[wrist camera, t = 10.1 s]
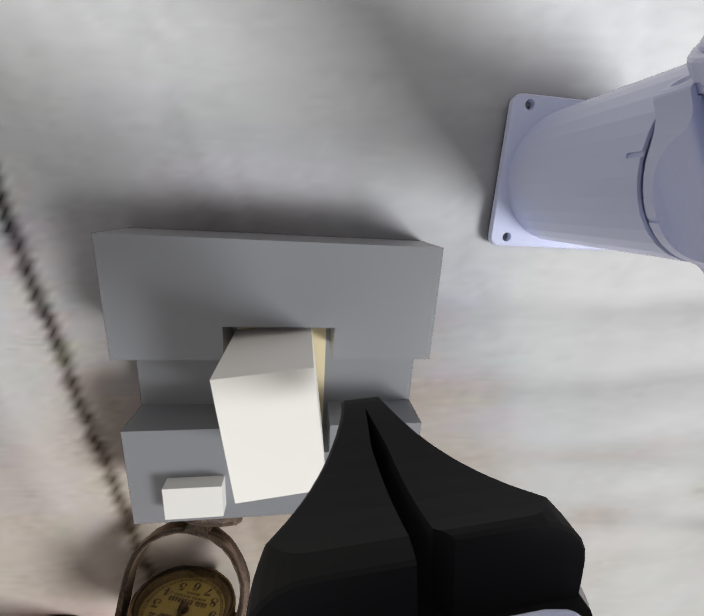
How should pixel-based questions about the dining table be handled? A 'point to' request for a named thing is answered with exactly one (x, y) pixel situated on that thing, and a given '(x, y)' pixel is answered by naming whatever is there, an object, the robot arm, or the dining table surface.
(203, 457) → the socket board
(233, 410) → the plug
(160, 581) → the bronze loop with drum
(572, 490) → the dining table surface
